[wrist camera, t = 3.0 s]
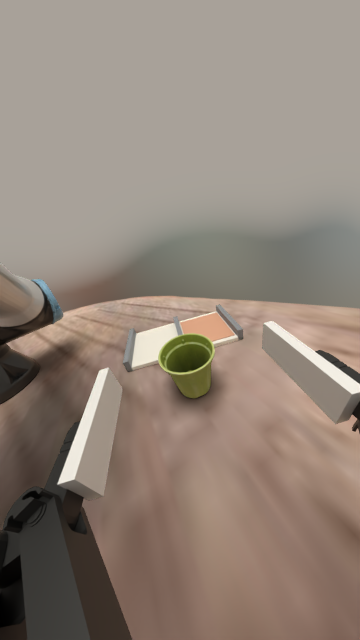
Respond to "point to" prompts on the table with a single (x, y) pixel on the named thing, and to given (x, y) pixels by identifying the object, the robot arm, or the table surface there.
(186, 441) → the table surface
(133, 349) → the slot board
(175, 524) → the table surface
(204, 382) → the plant pot
